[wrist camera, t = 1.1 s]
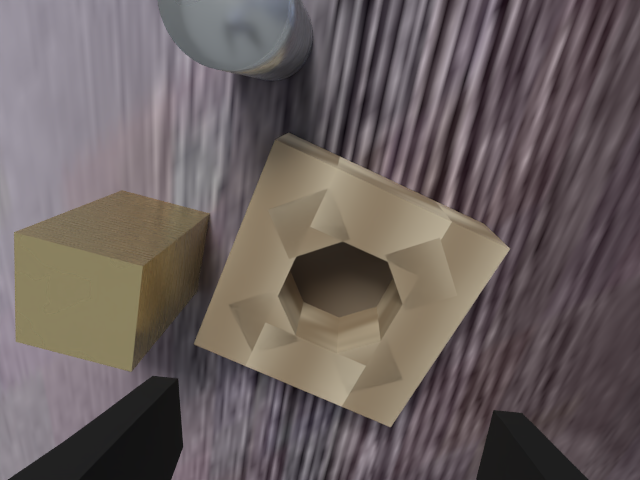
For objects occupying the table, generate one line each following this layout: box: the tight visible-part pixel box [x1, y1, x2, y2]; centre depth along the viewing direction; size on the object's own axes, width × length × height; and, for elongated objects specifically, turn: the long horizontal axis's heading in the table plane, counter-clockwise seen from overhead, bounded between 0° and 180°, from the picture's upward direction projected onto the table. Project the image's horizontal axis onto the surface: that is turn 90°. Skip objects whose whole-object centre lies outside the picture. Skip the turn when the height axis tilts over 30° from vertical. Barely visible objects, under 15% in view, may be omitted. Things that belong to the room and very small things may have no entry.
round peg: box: [158, 0, 313, 81], centre depth 12 cm, size 3×3×6 cm
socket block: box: [194, 133, 510, 427], centre depth 17 cm, size 9×9×3 cm
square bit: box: [14, 191, 209, 372], centre depth 16 cm, size 4×4×6 cm
